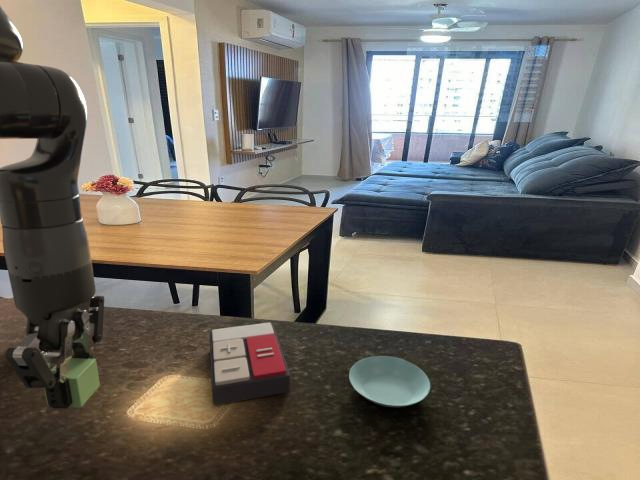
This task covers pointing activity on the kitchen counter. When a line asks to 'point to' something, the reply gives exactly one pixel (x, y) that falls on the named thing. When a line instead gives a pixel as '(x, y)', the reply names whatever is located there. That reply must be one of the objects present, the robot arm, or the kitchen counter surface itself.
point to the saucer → (389, 381)
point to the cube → (81, 380)
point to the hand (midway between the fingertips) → (74, 392)
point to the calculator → (247, 363)
